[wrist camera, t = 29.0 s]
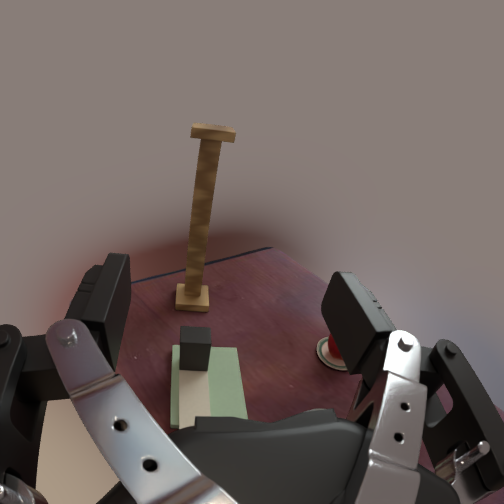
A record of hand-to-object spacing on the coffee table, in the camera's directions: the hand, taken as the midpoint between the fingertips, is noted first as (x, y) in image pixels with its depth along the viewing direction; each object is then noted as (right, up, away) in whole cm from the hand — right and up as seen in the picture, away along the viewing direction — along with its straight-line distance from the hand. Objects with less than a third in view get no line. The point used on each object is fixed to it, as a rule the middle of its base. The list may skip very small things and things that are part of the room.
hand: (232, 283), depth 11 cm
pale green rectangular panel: (-6, -18, +28) cm, 34 cm away
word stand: (-11, -8, +44) cm, 46 cm away
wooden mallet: (-7, -18, +25) cm, 32 cm away
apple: (+16, -17, +38) cm, 45 cm away
